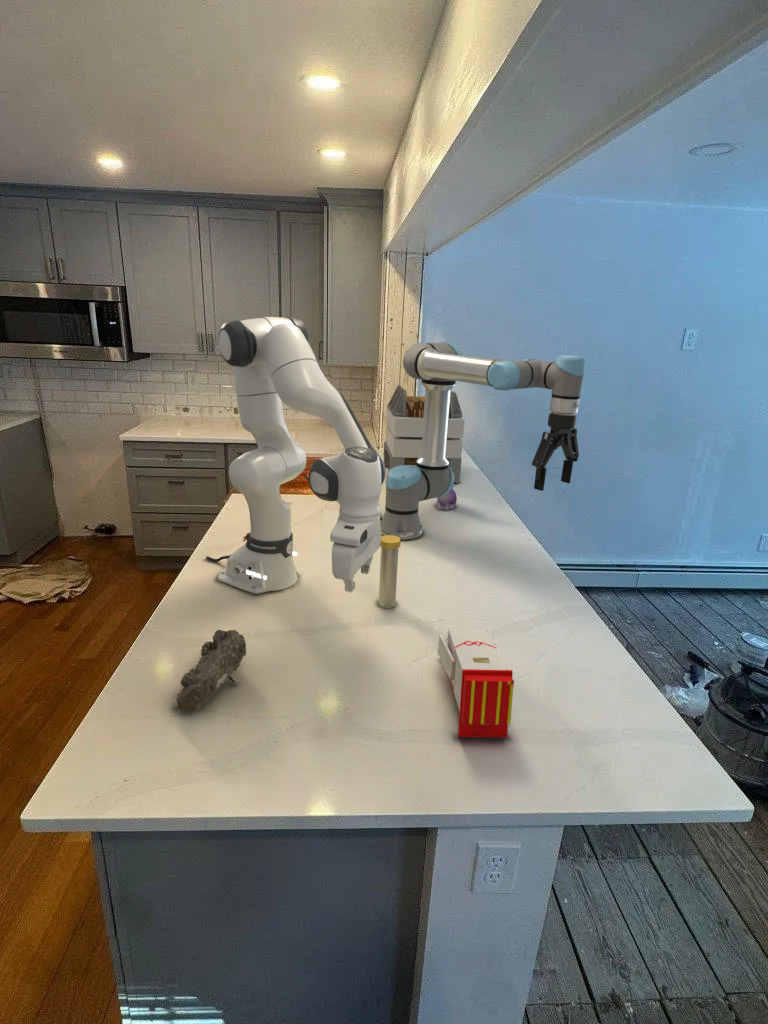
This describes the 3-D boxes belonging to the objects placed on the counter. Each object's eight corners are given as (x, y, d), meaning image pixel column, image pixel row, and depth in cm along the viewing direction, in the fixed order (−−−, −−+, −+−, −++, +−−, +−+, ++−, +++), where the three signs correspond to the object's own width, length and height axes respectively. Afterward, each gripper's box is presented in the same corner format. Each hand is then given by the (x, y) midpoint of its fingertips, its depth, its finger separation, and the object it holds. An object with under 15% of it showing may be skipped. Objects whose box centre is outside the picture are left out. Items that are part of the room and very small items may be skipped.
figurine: (443, 511, 223) (446, 475, 218) (429, 503, 232) (432, 468, 227) (462, 509, 227) (466, 473, 222) (448, 501, 236) (451, 466, 231)
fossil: (198, 632, 128) (246, 601, 123) (228, 660, 130) (275, 631, 125) (154, 704, 108) (208, 671, 103) (190, 735, 111) (244, 705, 106)
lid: (382, 550, 144) (382, 543, 143) (377, 541, 148) (377, 535, 148) (402, 548, 145) (402, 542, 144) (397, 540, 150) (397, 534, 149)
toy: (488, 613, 130) (523, 677, 101) (484, 667, 133) (517, 744, 104) (435, 612, 130) (455, 676, 101) (432, 666, 133) (451, 743, 103)
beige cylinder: (380, 608, 150) (383, 544, 144) (377, 600, 154) (379, 537, 148) (397, 607, 151) (400, 543, 145) (393, 599, 155) (396, 536, 149)
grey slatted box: (382, 463, 289) (386, 382, 275) (445, 464, 293) (451, 384, 279) (390, 482, 257) (394, 392, 243) (460, 483, 261) (468, 394, 247)
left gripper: (363, 506, 132) (361, 560, 137) (326, 537, 114) (326, 598, 118) (388, 510, 130) (386, 565, 135) (355, 542, 112) (354, 604, 117)
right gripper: (548, 419, 148) (537, 496, 155) (598, 411, 163) (586, 482, 171) (525, 414, 153) (515, 489, 160) (575, 407, 169) (564, 476, 176)
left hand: (357, 581), depth 126 cm, fingers open, 8 cm apart
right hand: (552, 485), depth 166 cm, fingers open, 13 cm apart
